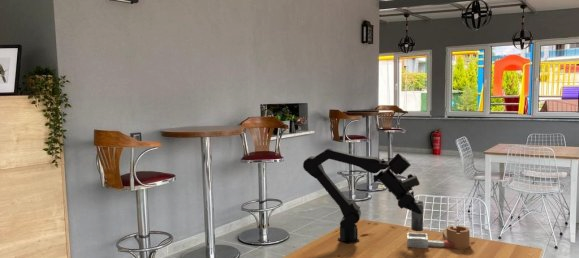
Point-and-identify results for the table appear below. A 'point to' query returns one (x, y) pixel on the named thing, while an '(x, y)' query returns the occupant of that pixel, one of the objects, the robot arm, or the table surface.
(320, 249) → the table surface
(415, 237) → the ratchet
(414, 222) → the dark metal cylinder
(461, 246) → the bracket
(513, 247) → the table surface
